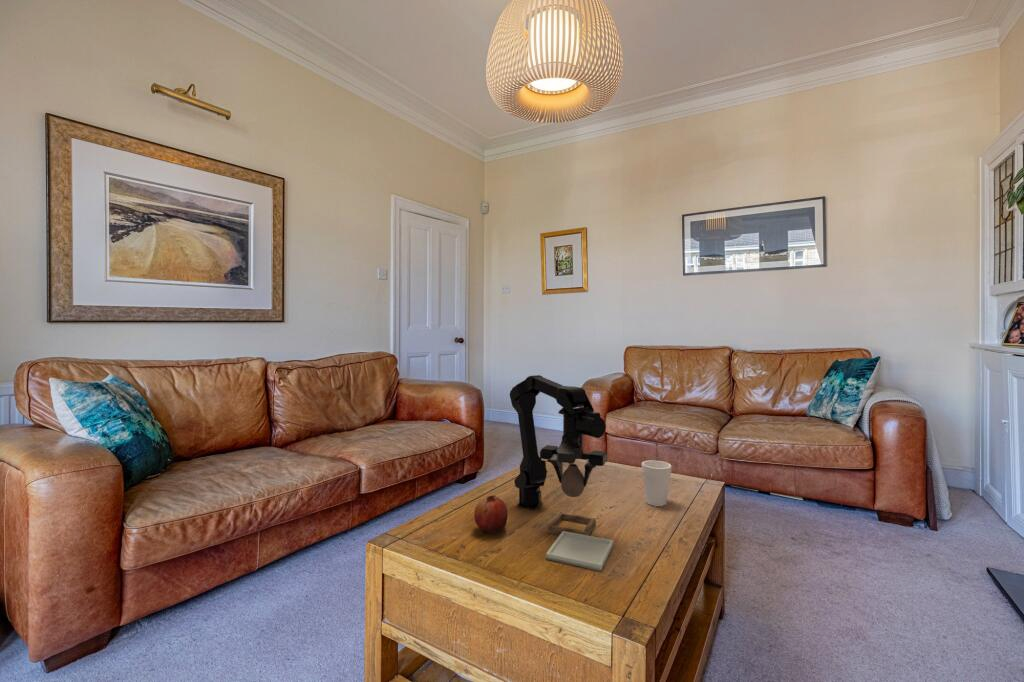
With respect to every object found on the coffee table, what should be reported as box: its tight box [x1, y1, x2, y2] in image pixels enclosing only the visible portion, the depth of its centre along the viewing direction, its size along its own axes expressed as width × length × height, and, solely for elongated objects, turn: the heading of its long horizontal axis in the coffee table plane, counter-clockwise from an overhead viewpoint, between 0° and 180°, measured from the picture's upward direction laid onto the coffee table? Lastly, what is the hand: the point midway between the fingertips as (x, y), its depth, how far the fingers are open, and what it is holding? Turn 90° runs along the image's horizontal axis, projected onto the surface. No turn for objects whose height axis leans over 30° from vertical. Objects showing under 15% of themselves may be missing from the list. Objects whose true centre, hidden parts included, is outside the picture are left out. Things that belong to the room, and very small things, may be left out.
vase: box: [560, 463, 585, 498], centre depth 131 cm, size 7×7×9 cm
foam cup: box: [641, 459, 672, 507], centre depth 151 cm, size 10×9×13 cm
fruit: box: [473, 495, 509, 533], centre depth 130 cm, size 11×10×10 cm
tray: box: [545, 531, 614, 572], centre depth 117 cm, size 14×14×2 cm
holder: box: [548, 511, 597, 536], centre depth 132 cm, size 11×11×2 cm
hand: (572, 484), depth 131 cm, fingers closed on vase, 7 cm apart
